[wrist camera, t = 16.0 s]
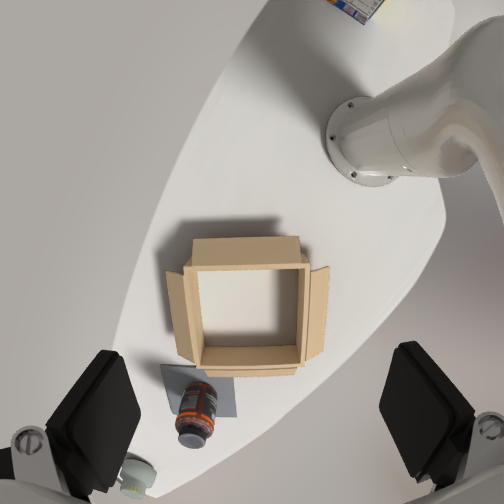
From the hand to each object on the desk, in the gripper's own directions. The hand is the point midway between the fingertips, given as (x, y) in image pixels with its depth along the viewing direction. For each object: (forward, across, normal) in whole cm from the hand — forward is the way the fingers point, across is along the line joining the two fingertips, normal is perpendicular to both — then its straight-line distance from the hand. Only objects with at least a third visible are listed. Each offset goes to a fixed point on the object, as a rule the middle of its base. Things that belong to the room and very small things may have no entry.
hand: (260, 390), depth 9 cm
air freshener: (+31, +30, +58) cm, 72 cm away
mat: (+30, +10, +28) cm, 42 cm away
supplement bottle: (+30, +10, +28) cm, 42 cm away
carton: (+30, +1, +11) cm, 32 cm away
